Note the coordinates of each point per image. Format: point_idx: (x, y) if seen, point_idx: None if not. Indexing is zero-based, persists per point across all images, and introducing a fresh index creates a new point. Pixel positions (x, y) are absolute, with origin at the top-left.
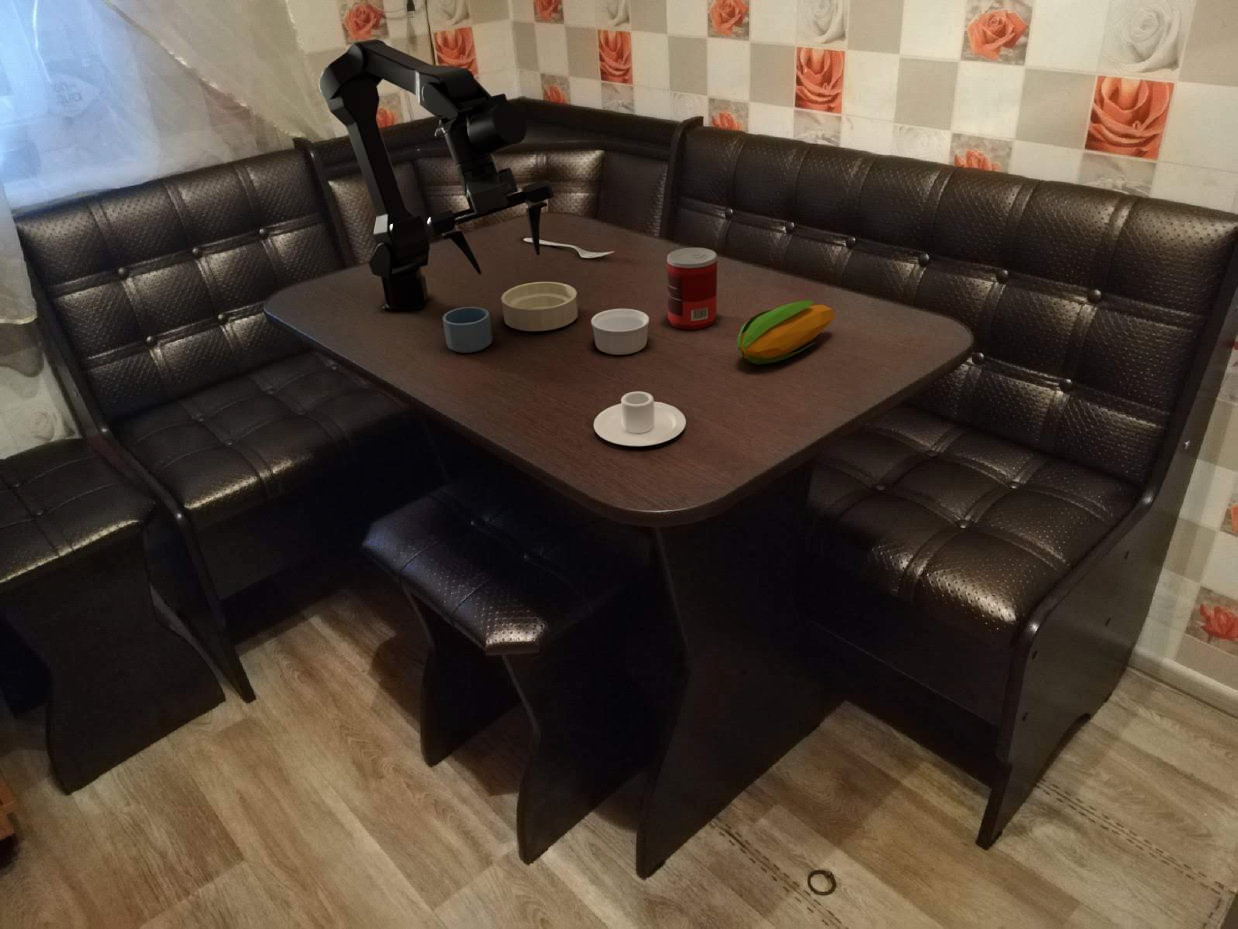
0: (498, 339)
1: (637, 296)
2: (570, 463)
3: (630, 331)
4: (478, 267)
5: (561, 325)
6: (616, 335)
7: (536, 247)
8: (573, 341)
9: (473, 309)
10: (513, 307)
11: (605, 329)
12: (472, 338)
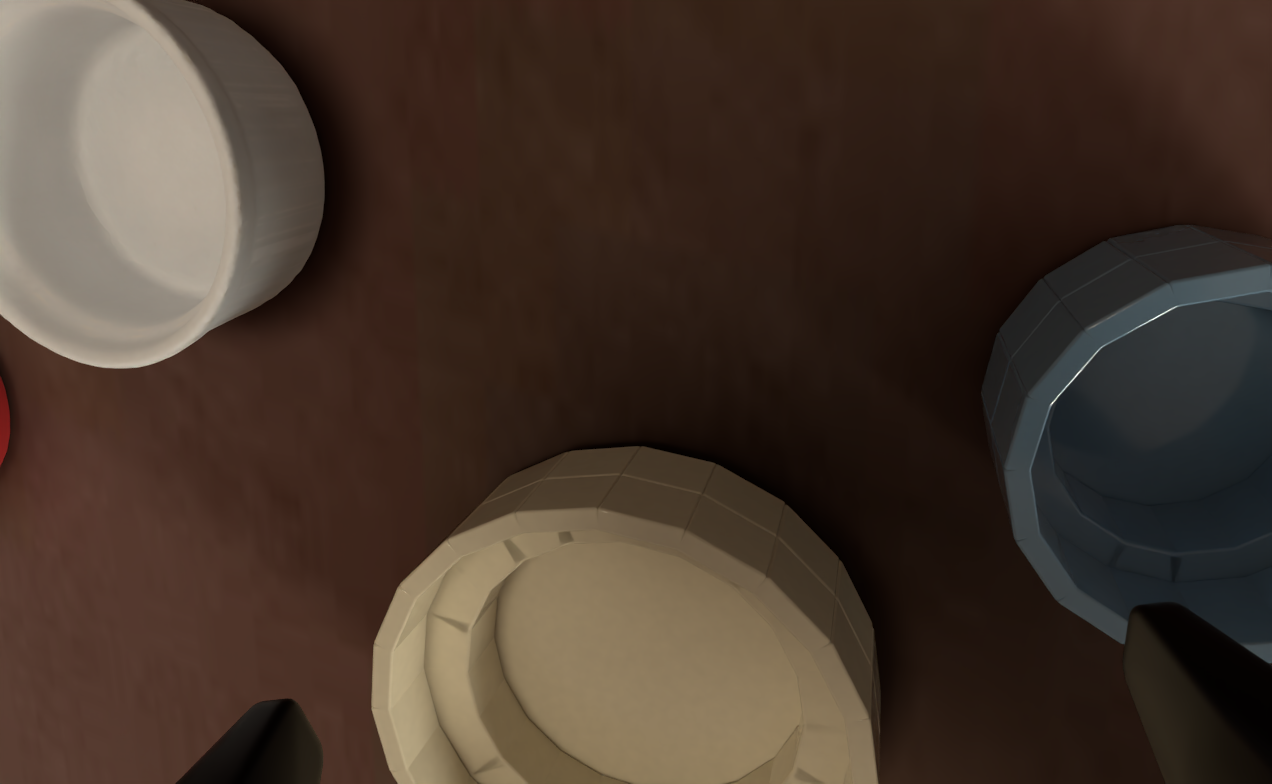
0: (935, 433)
1: (186, 747)
2: None
3: None
4: (1203, 665)
5: (520, 472)
6: None
7: (221, 776)
8: (462, 283)
9: None
10: (791, 602)
11: (127, 4)
12: (1174, 246)
